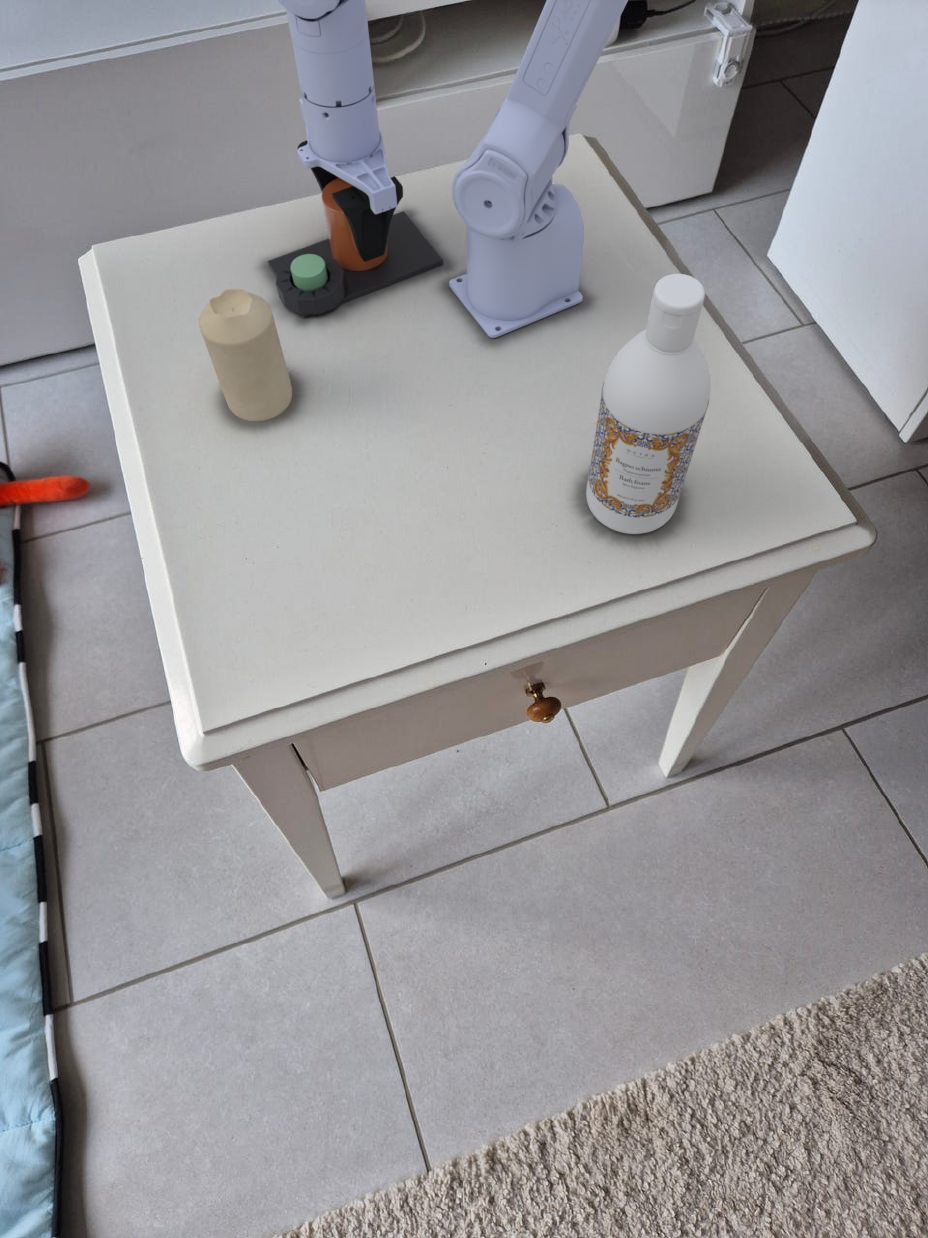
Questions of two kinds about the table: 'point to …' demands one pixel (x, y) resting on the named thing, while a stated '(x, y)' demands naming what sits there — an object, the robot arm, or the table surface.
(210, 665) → the table surface
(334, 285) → the scale
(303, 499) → the table surface
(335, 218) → the orange cylinder
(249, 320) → the candle
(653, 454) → the bath foam
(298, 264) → the button
